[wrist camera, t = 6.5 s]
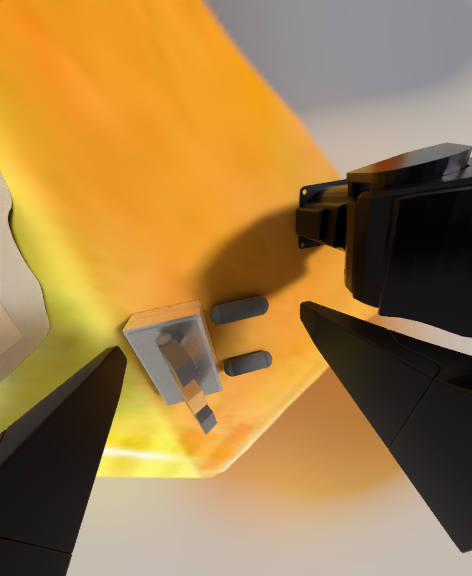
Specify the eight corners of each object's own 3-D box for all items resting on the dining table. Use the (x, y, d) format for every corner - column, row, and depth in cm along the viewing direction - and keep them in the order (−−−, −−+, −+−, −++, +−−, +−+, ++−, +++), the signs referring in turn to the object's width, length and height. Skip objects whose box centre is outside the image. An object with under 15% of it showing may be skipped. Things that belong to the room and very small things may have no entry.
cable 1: (264, 290, 22) (270, 300, 20) (265, 306, 24) (271, 316, 21) (207, 303, 22) (208, 314, 20) (211, 318, 23) (212, 330, 21)
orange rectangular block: (180, 358, 21) (201, 388, 17) (186, 373, 22) (208, 404, 18) (167, 366, 20) (187, 401, 16) (175, 381, 21) (194, 416, 18)
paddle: (189, 381, 23) (212, 411, 19) (195, 393, 24) (217, 423, 21) (178, 390, 22) (200, 423, 19) (185, 402, 23) (206, 435, 20)
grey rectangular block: (167, 330, 19) (191, 356, 15) (175, 348, 20) (199, 376, 16) (152, 338, 18) (174, 368, 14) (162, 357, 19) (183, 388, 16)
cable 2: (268, 345, 27) (274, 358, 25) (269, 356, 28) (274, 368, 26) (221, 357, 26) (223, 371, 24) (224, 367, 28) (226, 381, 26)
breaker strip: (199, 299, 21) (199, 315, 18) (220, 372, 28) (223, 392, 25) (132, 314, 20) (121, 332, 18) (170, 385, 27) (167, 407, 24)
